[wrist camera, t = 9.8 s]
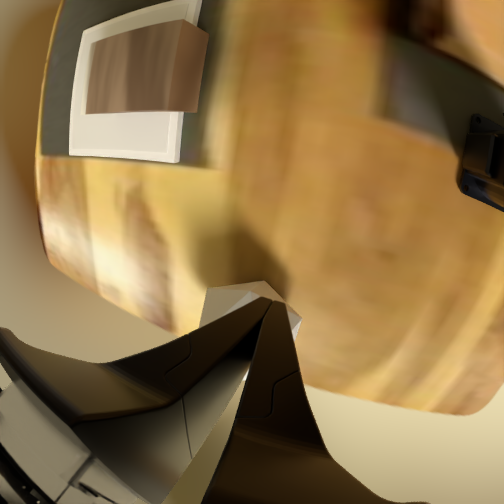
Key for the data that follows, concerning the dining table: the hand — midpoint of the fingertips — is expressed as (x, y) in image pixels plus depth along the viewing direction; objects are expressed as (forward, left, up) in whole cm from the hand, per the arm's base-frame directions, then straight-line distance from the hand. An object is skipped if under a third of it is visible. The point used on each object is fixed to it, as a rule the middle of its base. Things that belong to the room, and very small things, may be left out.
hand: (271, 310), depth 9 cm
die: (+3, +10, -13) cm, 17 cm away
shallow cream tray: (+20, -10, -13) cm, 26 cm away
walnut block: (+10, -10, -10) cm, 17 cm away
